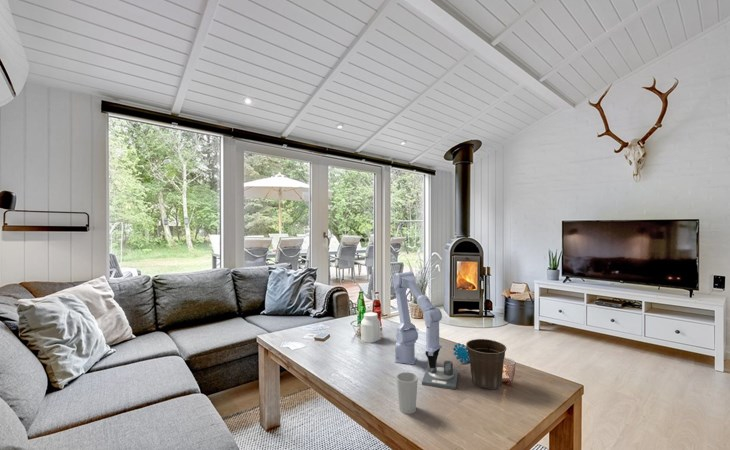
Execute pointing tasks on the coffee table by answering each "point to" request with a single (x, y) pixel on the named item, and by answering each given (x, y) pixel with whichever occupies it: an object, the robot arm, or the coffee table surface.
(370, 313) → the jar
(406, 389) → the cup
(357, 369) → the coffee table surface
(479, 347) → the plant pot
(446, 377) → the scale
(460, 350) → the gear
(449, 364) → the cylinder
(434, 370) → the spacer
